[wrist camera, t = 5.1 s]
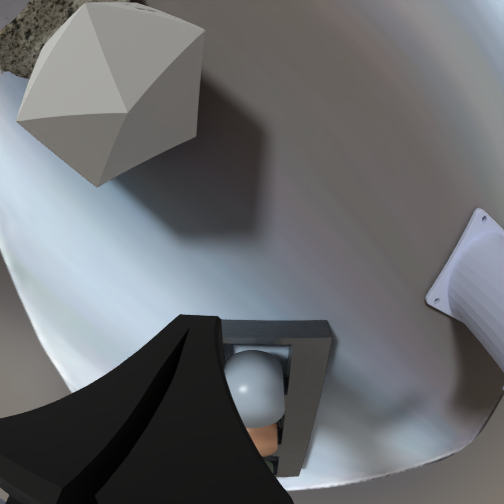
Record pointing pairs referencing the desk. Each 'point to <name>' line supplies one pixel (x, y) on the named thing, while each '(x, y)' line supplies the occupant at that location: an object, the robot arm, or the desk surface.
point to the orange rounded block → (264, 439)
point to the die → (115, 88)
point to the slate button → (256, 387)
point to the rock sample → (34, 32)
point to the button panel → (291, 379)
